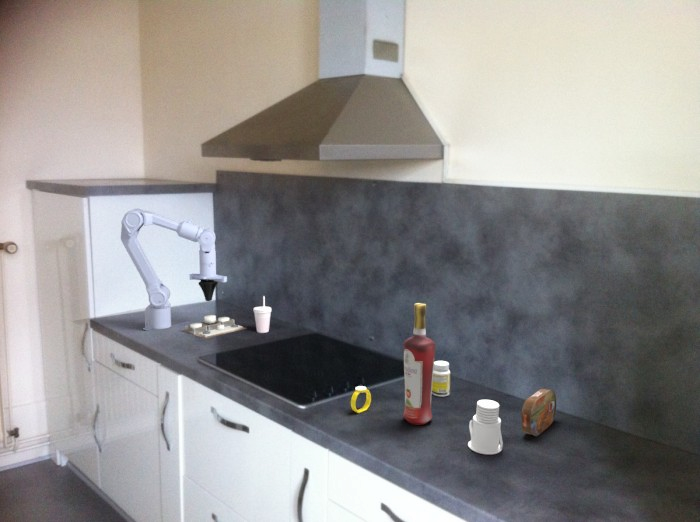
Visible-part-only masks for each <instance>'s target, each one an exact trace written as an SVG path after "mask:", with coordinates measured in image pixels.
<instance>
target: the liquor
mask: <svg viewBox="0 0 700 522" xmlns="http://www.w3.org/2000/svg"><path fill="white" fill-rule="evenodd" d="M413 305H414V307H413V308H414V309H413V312H414V325H413V333H412V336H410V337H408V338H406V340H404V341H403V342H402V343H403V372H404V373H403V374H404V412H403V413H402V416H403V418H404V419H405V420H406V421H407V422H408V423H409V424H411V425H415V426H423V425H426V424H427V423H428V422H429V421H430V420H431V419H432V418H433V414H432V411H431V410H432V409H431V408H432V395H433V394H432V381H433V370H434V362H435V355H436V353H435V352H436V342H435V341H433V339H431V338H429V337H427V332H426V331H427V330H426V320H425V319H426V314H427V304H426V303H422V302H417V303H414V304H413Z"/></svg>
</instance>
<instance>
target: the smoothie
mask: <svg viewBox="0 0 700 522" xmlns="http://www.w3.org/2000/svg"><path fill="white" fill-rule="evenodd" d="M262 302H263V303H262V306H255V307H253V309H252V310H253V311H252V312H253V313H254V321H255V327H256V332H257V333H259V334H264V333H268V332H269V330H270V324H271V323H270V322H271V313H272V312H273V311H272V307H271V306H268V305H267V306H266V297H265V295H263V296H262Z"/></svg>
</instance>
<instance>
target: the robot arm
mask: <svg viewBox="0 0 700 522" xmlns="http://www.w3.org/2000/svg"><path fill="white" fill-rule="evenodd" d="M151 225H155V226H158V227H161V228H165V229H167V230H169V231H175V232H176V233H177V236H178V237H180V238H183V239H185V240H188V241H191V242H193V243H199V251H198V253H199V255H198V256H199V273H190V274H189V280H191V281H192V280H195V281H199V282H198V286H199V288H201V290H202V293H203V296H204V299H205V301H206V302H211V301H212V300H213V295H214V294H215V293H214V292H215V289H216V287H217V285H218V283H219V282H220V283H227V282H228V276H226V275H221V274H217V257H216V256H217V255H216V254H217V252H216V244H215V242H216V238H217V237H216V236H217V235H216V233H215V232H214V231H213V230H212V229H210V228H205V226H203V225H202V226H199V225H196V224H194V223H192V221H191V220H187V221H181V222H177V221H176V220H173V219H170V218H167V217H166V216H163V215H160V214H157V213H155V212H152V211H149V210H143V209H141V208H133V209H131V210H128V211H127V212H126V213H125V214H124V216H123V218H122V220H121V229H120V241H121V243H122V245H123V246H124V249H125V250H126V252H127V253H128V255H129V257H130V259H131V261H132V263H133V264H134V266H135V268H136V270H137V272H138V274H139V275H140V277H141V280H142V281H143V283H144V286H145V290H146V292H147V295H148V302H149V305H147V306H146V307H145V310H144V327H143V328H142V329H143V330H145V331H151V330H155V329H156V330H163V329H168V328H170V327H172V314H171V312H172V310H171V309H172V308H171V307H172V306H171V303H170V302H169V299H170V296H171V291H170V289H169V287H167V286H166V285H165V284H164V283H163V281H162V280H161V278H159V276H158V275H157V273H156V271H155V269H154V268H153V265H152V263H151V262H150V260H149V258H148V257H147V255H146V253H145V251H144V249H143V247H142V245H141V244H140V242H139V239H138V236H139V234H140V230H141V229H142V228H143V226H151Z"/></svg>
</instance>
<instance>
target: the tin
mask: <svg viewBox="0 0 700 522" xmlns="http://www.w3.org/2000/svg"><path fill="white" fill-rule="evenodd" d="M556 409H557V396H556V393H555V391H554V389H545V388H541V389H539V390H537V391H535V392H534V393H533V394H532V395H530V396H529V397H527V398H526V400H524V403H523V405H522V409H521V430H522V431H523V433H524V434H526V435H530V436H534V437H538V436H540V435H541V434H542V433H543V432H544V431H545V430H547V429H548V428H549V427H550V426H552V424H553V423H554V419H555V416H556V411H557V410H556Z"/></svg>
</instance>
